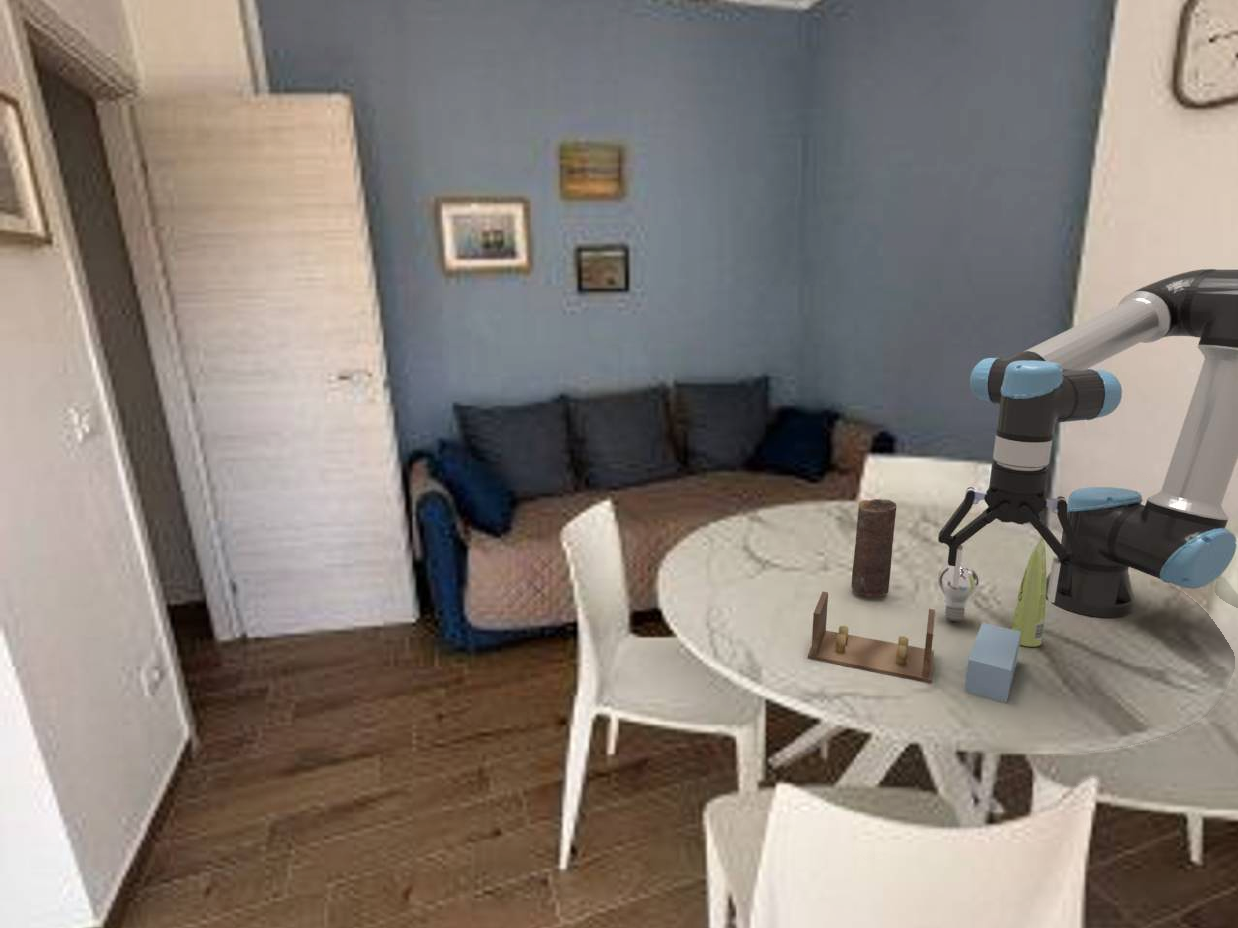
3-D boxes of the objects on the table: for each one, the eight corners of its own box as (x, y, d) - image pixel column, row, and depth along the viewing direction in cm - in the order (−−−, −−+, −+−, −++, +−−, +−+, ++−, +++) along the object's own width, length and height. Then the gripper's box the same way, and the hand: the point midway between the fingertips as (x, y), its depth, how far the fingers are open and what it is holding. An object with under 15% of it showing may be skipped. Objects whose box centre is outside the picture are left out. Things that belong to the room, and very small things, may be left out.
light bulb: (950, 632, 135) (957, 572, 132) (926, 615, 142) (932, 558, 139) (982, 626, 137) (989, 567, 134) (956, 610, 144) (963, 553, 140)
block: (1016, 662, 126) (1021, 631, 124) (1006, 704, 114) (1011, 670, 113) (978, 653, 129) (982, 622, 127) (964, 692, 118) (968, 659, 116)
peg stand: (933, 653, 129) (938, 609, 126) (931, 682, 120) (936, 636, 117) (817, 631, 137) (820, 589, 134) (807, 658, 128) (810, 613, 126)
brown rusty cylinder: (891, 603, 147) (899, 509, 141) (852, 600, 148) (859, 507, 143) (885, 586, 154) (893, 496, 149) (849, 584, 156) (855, 495, 150)
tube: (1002, 633, 135) (1015, 534, 129) (1028, 631, 135) (1043, 532, 130) (1021, 649, 129) (1036, 546, 124) (1048, 647, 130) (1064, 544, 124)
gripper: (1112, 465, 110) (1089, 595, 115) (932, 450, 120) (919, 569, 125) (1121, 479, 103) (1097, 615, 109) (930, 461, 113) (916, 587, 119)
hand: (1001, 591), depth 117 cm, fingers open, 13 cm apart
